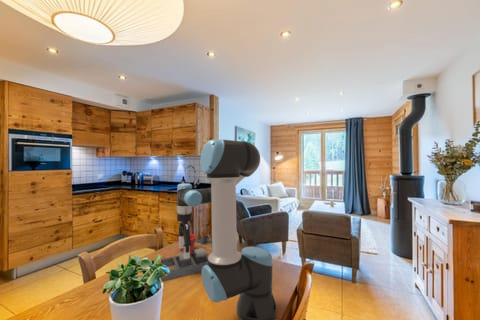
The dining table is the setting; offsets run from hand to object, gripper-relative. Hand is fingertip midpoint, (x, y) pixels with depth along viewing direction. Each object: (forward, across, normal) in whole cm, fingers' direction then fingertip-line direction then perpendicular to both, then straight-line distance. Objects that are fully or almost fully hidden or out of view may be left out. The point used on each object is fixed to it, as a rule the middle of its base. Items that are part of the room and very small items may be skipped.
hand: (184, 252), depth 111 cm
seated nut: (+8, 0, -8) cm, 12 cm away
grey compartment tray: (+8, 0, 0) cm, 8 cm away
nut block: (+8, 0, 0) cm, 8 cm away
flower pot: (+8, +19, -6) cm, 21 cm away
